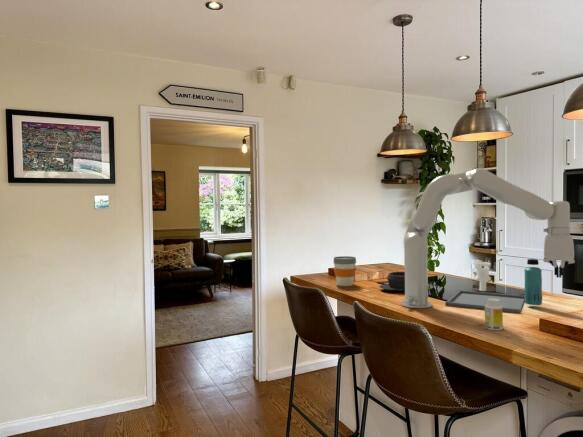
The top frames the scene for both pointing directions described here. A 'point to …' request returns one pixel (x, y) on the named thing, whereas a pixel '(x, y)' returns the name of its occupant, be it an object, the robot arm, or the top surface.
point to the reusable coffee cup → (344, 270)
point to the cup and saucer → (395, 282)
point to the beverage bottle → (533, 284)
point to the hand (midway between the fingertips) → (558, 277)
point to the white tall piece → (482, 273)
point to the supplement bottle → (493, 314)
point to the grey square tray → (485, 300)
